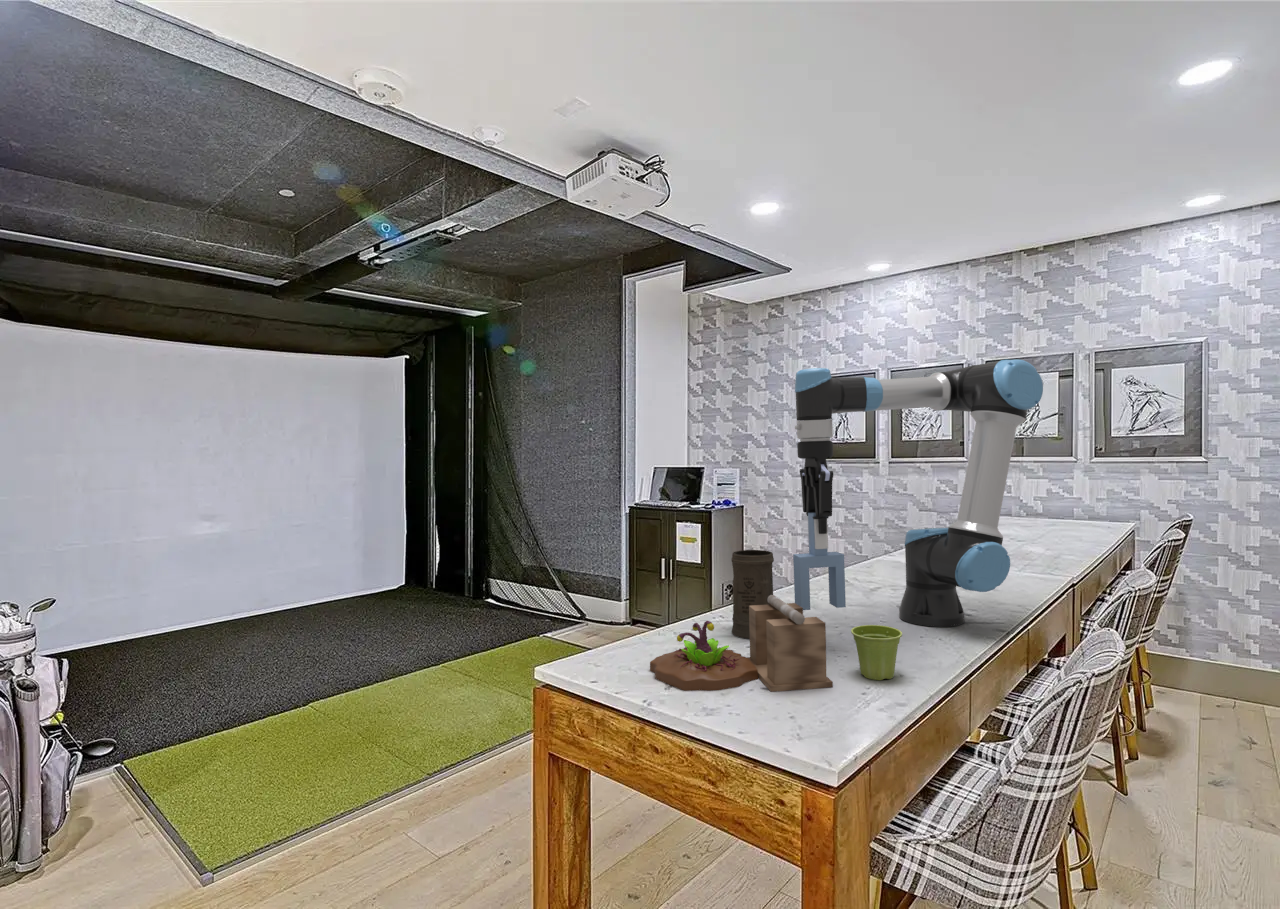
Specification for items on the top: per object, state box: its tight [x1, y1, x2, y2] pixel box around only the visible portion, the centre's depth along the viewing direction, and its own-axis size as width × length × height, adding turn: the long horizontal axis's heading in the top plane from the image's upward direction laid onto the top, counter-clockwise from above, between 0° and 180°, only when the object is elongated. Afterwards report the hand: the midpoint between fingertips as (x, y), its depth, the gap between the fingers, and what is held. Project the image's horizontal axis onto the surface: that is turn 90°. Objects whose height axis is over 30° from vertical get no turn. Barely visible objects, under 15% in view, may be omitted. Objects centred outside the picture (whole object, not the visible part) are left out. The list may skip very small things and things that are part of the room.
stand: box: [746, 594, 834, 693], centre depth 135 cm, size 12×17×14 cm
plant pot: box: [850, 624, 903, 681], centre depth 133 cm, size 9×9×9 cm
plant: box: [649, 620, 759, 692], centre depth 137 cm, size 20×20×11 cm
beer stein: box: [731, 549, 775, 640], centre depth 166 cm, size 15×11×20 cm
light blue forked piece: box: [792, 513, 847, 611], centre depth 149 cm, size 10×4×20 cm, turn 97°
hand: (818, 547), depth 149 cm, fingers closed on light blue forked piece, 3 cm apart
